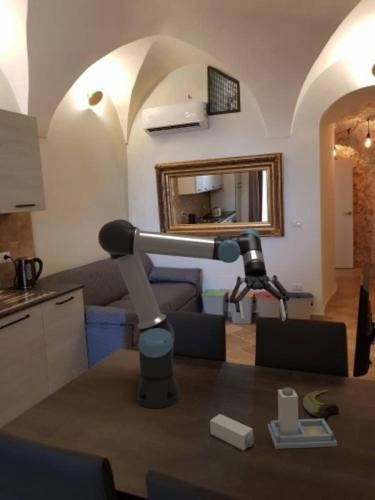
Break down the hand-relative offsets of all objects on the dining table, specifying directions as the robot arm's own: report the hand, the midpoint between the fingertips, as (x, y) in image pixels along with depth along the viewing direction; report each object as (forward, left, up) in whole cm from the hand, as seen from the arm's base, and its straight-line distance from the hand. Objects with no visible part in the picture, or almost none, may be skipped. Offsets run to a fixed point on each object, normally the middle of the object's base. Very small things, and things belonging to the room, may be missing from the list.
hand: (263, 319), depth 126 cm
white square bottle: (+3, -18, -28) cm, 33 cm away
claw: (+18, -1, -30) cm, 35 cm away
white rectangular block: (-13, -17, -30) cm, 37 cm away
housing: (+7, -18, -30) cm, 35 cm away
